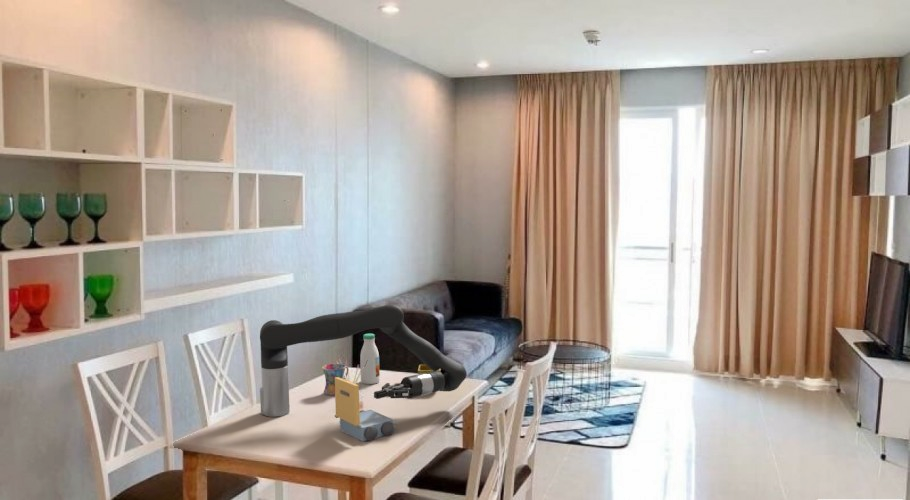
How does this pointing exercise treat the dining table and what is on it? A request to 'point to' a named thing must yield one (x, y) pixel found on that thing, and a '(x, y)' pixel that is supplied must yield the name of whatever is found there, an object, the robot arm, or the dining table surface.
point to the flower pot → (425, 369)
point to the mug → (333, 376)
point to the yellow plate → (347, 401)
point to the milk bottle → (369, 361)
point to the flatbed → (369, 426)
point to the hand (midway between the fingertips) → (375, 395)
